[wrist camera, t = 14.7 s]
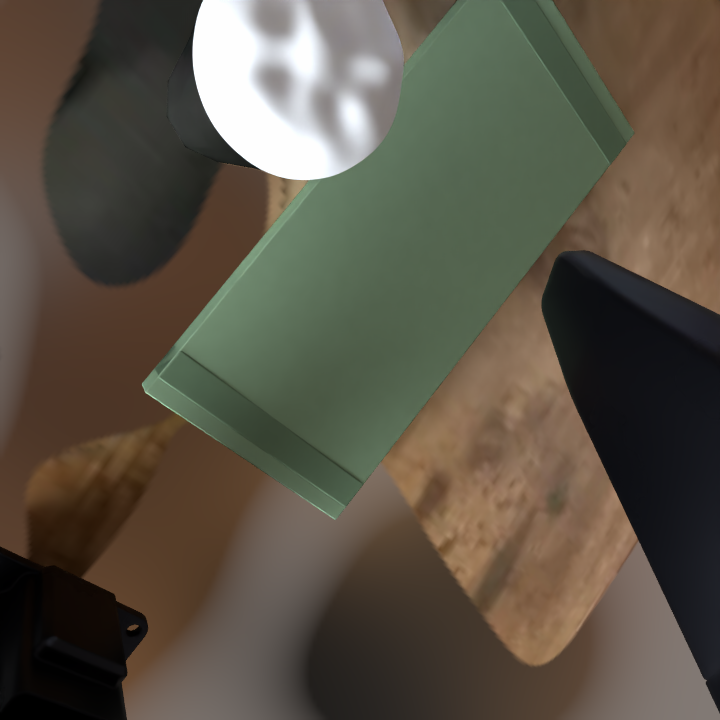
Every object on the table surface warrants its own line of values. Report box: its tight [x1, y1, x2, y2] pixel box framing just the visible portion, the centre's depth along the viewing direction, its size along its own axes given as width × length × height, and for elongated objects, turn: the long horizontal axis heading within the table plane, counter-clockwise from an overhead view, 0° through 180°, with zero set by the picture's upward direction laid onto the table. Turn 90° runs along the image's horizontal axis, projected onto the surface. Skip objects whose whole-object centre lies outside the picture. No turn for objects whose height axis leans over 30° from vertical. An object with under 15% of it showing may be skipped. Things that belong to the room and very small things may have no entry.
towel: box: [142, 0, 634, 520], centre depth 24 cm, size 20×9×1 cm, turn 137°
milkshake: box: [167, 0, 404, 180], centre depth 16 cm, size 4×5×10 cm
